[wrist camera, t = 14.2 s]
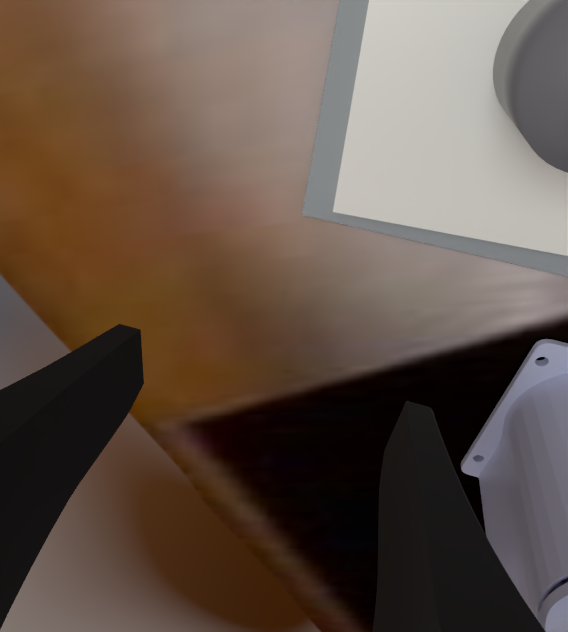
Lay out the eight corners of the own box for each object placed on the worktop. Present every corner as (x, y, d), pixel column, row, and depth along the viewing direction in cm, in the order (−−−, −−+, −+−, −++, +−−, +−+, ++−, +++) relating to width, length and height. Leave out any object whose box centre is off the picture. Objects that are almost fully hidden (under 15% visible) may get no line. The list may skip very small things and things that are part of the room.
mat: (653, 292, 18) (656, 297, 18) (303, 211, 19) (301, 214, 19) (1078, -268, 9) (1095, -273, 9) (401, -339, 11) (400, -346, 11)
